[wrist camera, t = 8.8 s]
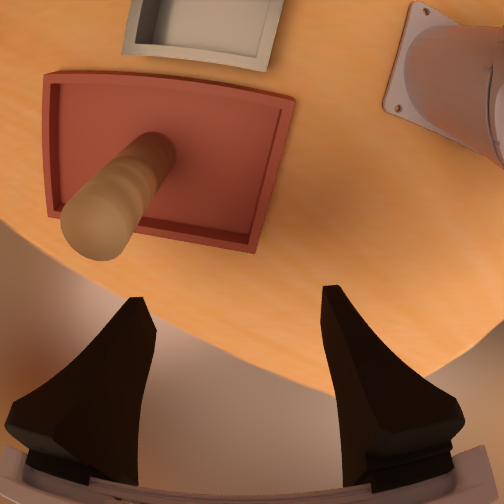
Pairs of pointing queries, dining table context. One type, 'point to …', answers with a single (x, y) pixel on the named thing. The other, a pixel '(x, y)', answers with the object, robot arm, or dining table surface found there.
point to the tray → (184, 140)
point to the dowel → (117, 197)
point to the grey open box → (204, 30)
